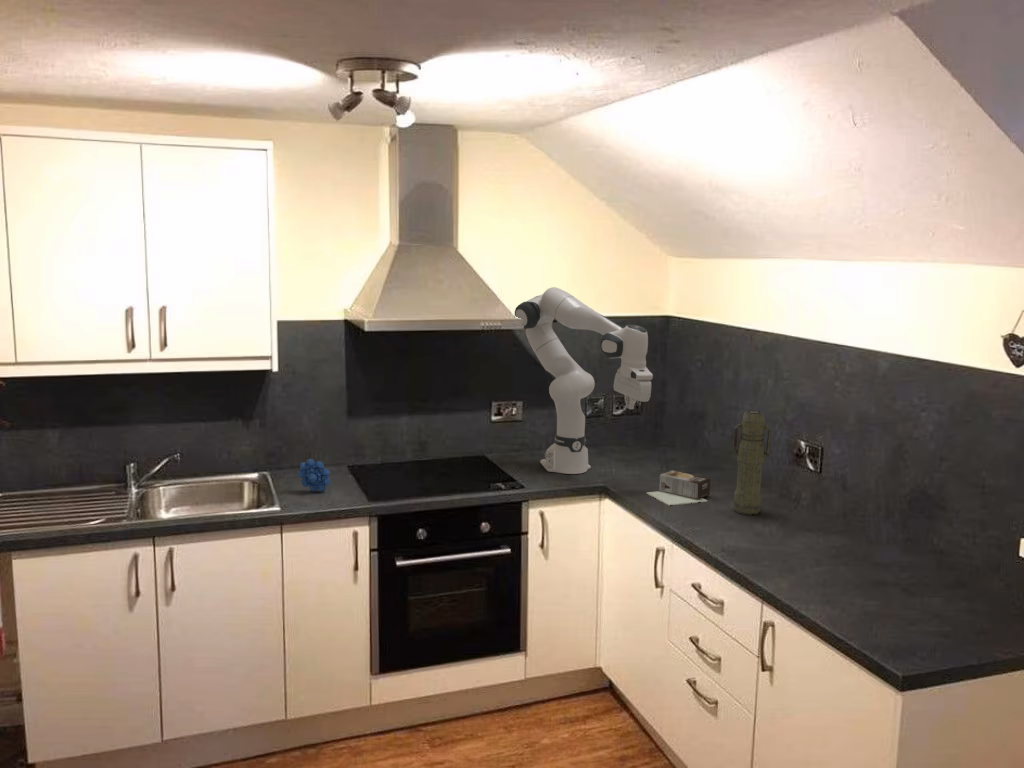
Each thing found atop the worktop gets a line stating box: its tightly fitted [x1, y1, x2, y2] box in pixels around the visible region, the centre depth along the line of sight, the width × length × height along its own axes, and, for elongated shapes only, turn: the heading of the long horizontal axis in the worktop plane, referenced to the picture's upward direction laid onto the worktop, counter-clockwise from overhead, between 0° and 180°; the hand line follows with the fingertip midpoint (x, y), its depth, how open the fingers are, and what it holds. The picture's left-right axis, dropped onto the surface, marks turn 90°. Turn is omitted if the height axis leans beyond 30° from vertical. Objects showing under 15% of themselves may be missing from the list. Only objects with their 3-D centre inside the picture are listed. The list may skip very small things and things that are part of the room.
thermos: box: [732, 409, 772, 516], centre depth 295 cm, size 9×12×35 cm
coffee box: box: [658, 470, 711, 499], centre depth 315 cm, size 9×6×16 cm
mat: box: [646, 490, 708, 507], centre depth 311 cm, size 15×16×1 cm
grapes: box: [297, 458, 331, 493], centre depth 304 cm, size 12×7×12 cm, turn 89°
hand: (629, 408), depth 311 cm, fingers closed
